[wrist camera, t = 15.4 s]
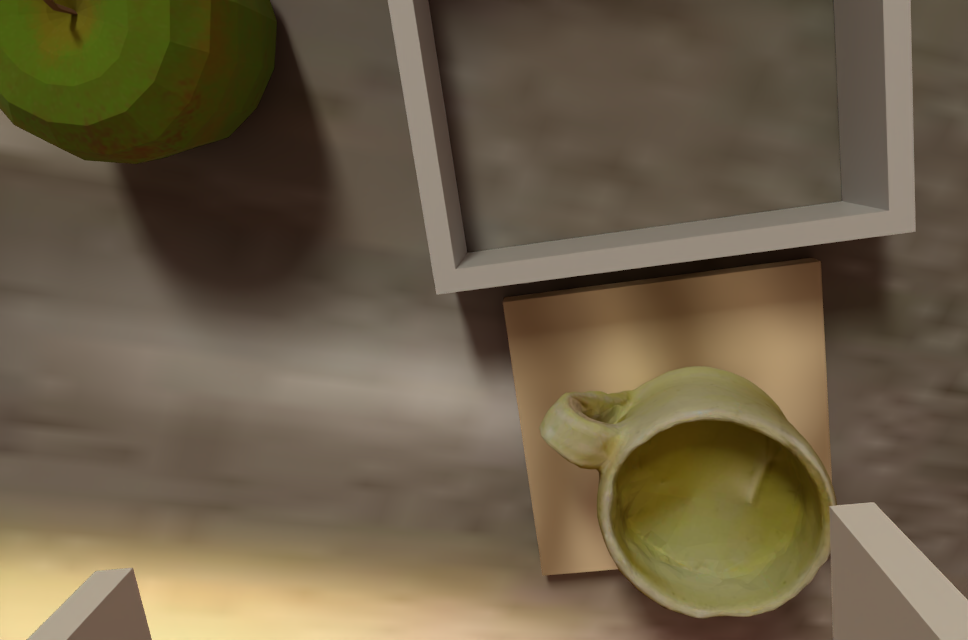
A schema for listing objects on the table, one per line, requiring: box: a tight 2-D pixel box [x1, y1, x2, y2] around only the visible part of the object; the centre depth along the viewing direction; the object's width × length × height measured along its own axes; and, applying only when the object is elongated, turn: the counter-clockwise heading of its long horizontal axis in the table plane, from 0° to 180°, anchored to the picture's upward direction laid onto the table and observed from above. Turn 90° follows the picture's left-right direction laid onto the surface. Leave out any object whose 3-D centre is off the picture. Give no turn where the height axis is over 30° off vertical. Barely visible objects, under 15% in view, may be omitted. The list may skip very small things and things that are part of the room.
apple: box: [0, 0, 277, 164], centre depth 31 cm, size 11×11×11 cm
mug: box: [539, 366, 837, 619], centre depth 33 cm, size 12×10×10 cm
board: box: [503, 258, 832, 576], centre depth 38 cm, size 15×15×1 cm
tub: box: [388, 0, 916, 294], centre depth 32 cm, size 20×18×5 cm
